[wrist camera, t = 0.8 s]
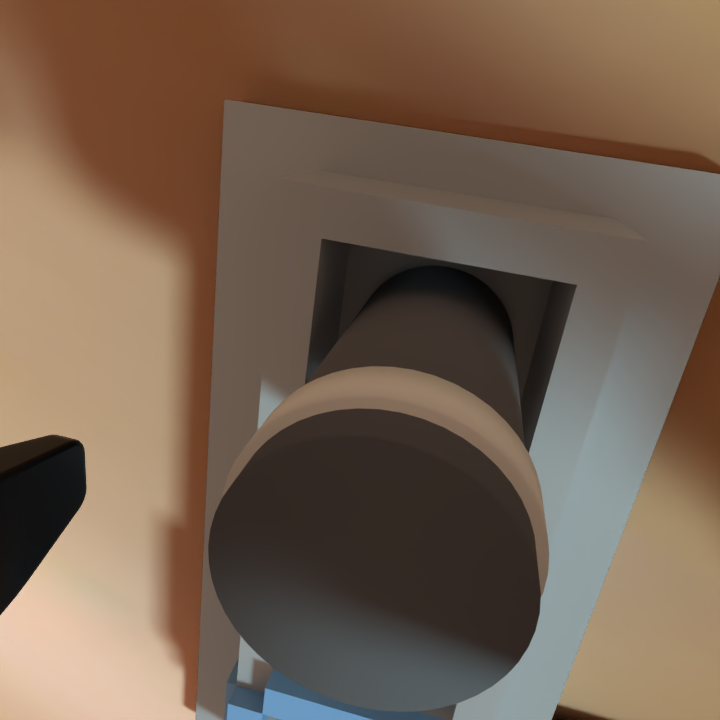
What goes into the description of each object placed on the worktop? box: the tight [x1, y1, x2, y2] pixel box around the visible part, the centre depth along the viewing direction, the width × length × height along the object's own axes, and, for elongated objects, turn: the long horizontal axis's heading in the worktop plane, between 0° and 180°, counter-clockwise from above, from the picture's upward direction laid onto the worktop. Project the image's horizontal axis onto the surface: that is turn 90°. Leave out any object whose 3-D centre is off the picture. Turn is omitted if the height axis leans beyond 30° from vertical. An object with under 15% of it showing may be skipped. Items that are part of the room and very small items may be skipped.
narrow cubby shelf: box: [196, 99, 720, 720], centre depth 17 cm, size 12×23×5 cm, turn 172°
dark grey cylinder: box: [208, 266, 549, 712], centre depth 11 cm, size 4×4×9 cm
